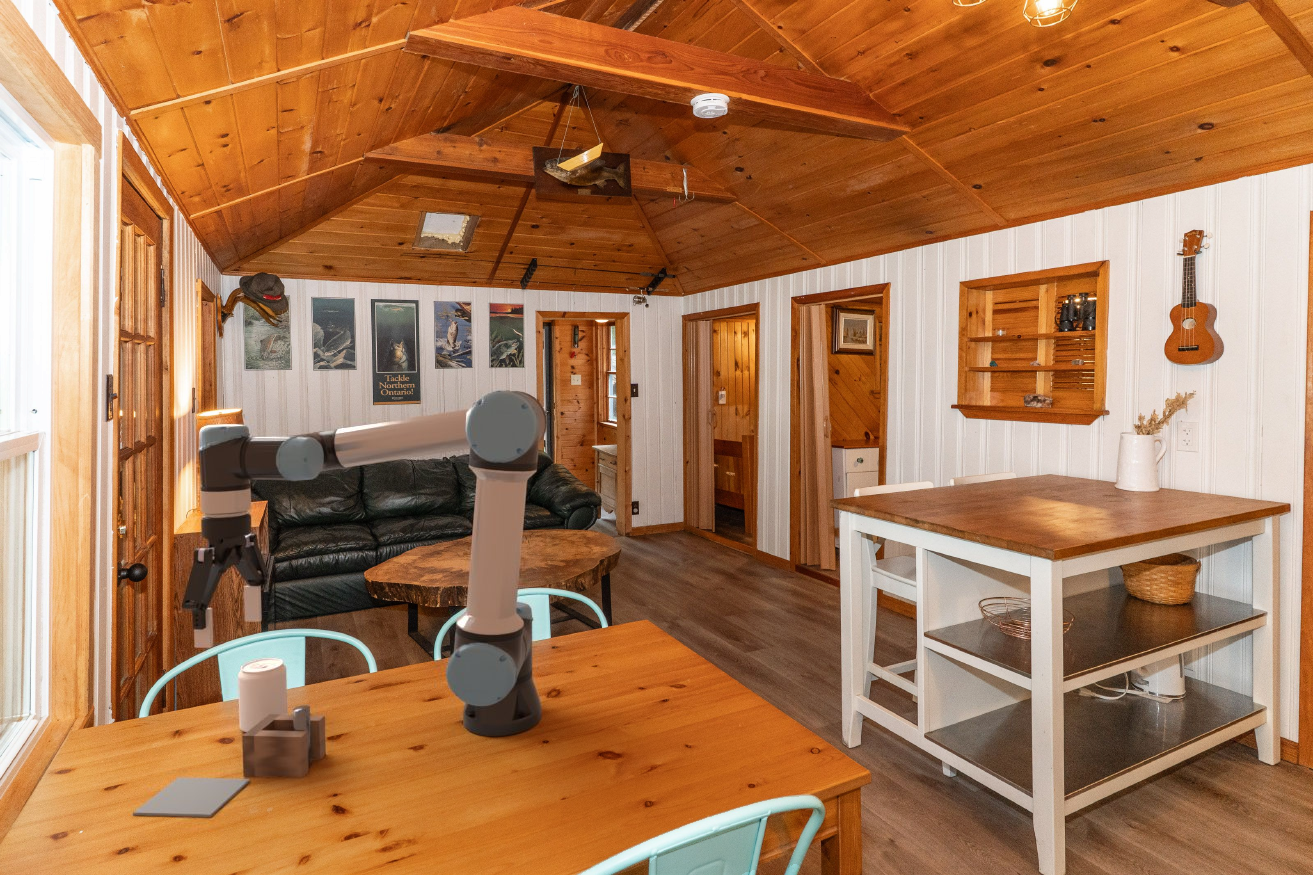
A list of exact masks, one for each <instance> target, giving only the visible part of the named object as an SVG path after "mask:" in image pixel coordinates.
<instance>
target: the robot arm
mask: <svg viewBox="0 0 1313 875" xmlns="http://www.w3.org/2000/svg"><path fill="white" fill-rule="evenodd" d="M547 418H548V417H547V413H546V411H545V408H544V406H543V405H542V403H541V402H540V401H539V400H538V399H537V398H536V397H534V396H533V395H532V394H530V393H528V392H524V391H518V390H508V389H507V390H496V391H492V392H490V393H487V394H485V395H484V396H482V397H481V398H479V400H477V401H476V402H473V403H472V405H471V406H470V407H469V408H467V409H461V410H455V411H454V410H453V411H448V412H441V413H434V414H428V415H423V416H422V415H421V416H415V417H408V418H402V419H401V418H400V419H395V420H388V421H382V422H374V423H369V424H362V425H356V426H355V425H354V426H351V427H350V426H349V427H342V428H341V427H340V428H338V429H330V430H329V429H328V430H321V431H315V432H310V433H302V434H293V435H286V436H253V435H251V433H250V429H249V427H248V426H247V425H245V424H207V425H205V426H203V427H201V428H200V430H199V432H198V435H199V436H198V438H199V439H198V449H197V453H198V459H199V460H198V461H199V479H200V512H201V513H202V514H204V515H203V516H202V517H201V518H200V528H201V531H200V532H201V537H202V538H204V539H206V541H208V542H207V543H208V545H207V548H197V547H196V548H195V549H194V551H193V563H192V568H191V570H190V574H189V578H188V580H187V585H186V588H185V591H184V595H183V598H182V599H183V600H182V603H181V609H183V610H187V611H189V610H190V611H191V612H192V628H193V640H194V644H193V645H194V648H196V649H197V648H201V649H202V648H203V649H204V648H205V649H206V648H207V649H211V648H213V647H214V628H213V627H214V624H213V620H214V619H213V608H212V607H209V606H210V604H211V602H212V598H213V597H214V595H215V592H216V590H217V587H218V585H219V582H220V580H221V578H222V576H223V574H225V573H226V572H227V571H228V569H229V568H230V569H231V568H232V567H233V566H234V568H235V569H236V570H237V572H238V573H239V575H240V576H241V577H242V579H243V580H244V581H245V583H246V584H247V585H244V586H243V598H244V599H243V602H244V605H243V606H244V622H251V623H252V622H253V623H254V622H255V623H257V622H262V620H263V619H262V586H266V585H267V584H268V579H269V571H268V568H267V566H266V562H265V560H264V557H263V554H262V551H261V549H260V546H259V542H258V540H259V539H258V534H257V533H252V528H253V526H252V514H251V513H250V512H249V511H251V509H252V498H251V497H252V496H251V495H252V494H251V492H252V491H251V481H257V480H260V481H261V480H264V481H267V480H271V481H291V482H297V481H307V480H309V481H310V480H314V479H316V478H317V477H318V476H319V473H321V472H325V471H326V472H327V471H332V470H338V469H344V468H345V469H346V468H350V467H351V468H352V467H357V466H364V465H371V464H377V463H378V464H379V463H384V462H390V461H391V462H393V461H398V460H404V459H411V458H412V459H413V458H417V457H418V458H419V457H424V456H431V455H438V454H445V453H451V452H459V451H464V450H466V451H467V450H469V456H468V457H469V459H468V468H469V469H470V470H471V471H472V473H474V475H475V476H476V484H475V486H476V487H475V496H474V497H475V498H474V508H473V510H474V511H473V523H472V537H471V546H470V547H471V548H470V561H469V572H468V573H469V574H468V586H467V587H468V588H467V597H466V598H467V599H466V610H465V612H463V614H461V615H460V616H459V617H458V618H457V619H456V622H455V623H456V626H455V634H454V635H455V636H454V646H453V647H454V649H453V653H452V654H451V655H450V657H449V659H448V662H447V665H446V671H445V672H446V673H445V675H446V677H445V678H446V683H447V684H448V687H449V689H450V690H451V692H452V693H453V694H454V695H455V696H456V698H458V699H459V700H460V701H462V702H463V703H464V707H463V712H462V724H463V726H464V728H465V730H467V731H469V732H470V733H473V734H475V735H480V736H487V737H504V736H510V735H511V736H512V735H516V734H520V733H522V732H526V731H528V730H530V729H532V728H533V727H534V726H536V725H537V724H538V723H539V722H540V721H541V719H542V702H541V699H540V696H539V693H538V691H537V688H536V687H537V686H536V684H535V682H534V678H533V621H534V617H533V611H532V607H531V606H530V605H529V604H527V603H526V602H521V601H518V591H519V581H520V580H519V579H520V571H521V570H520V568H521V555H522V544H523V543H522V542H523V534H524V533H523V531H524V520H525V519H524V518H525V510H526V509H525V508H526V497H527V487H528V480H529V479H530V478H531V477H532V476H533V475H534V474H535V473H537V468H538V458H539V449H540V448H539V447H540V443H541V442H542V440H543V439H544V437H545V435H546V432H547V427H548V419H547Z"/></svg>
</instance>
